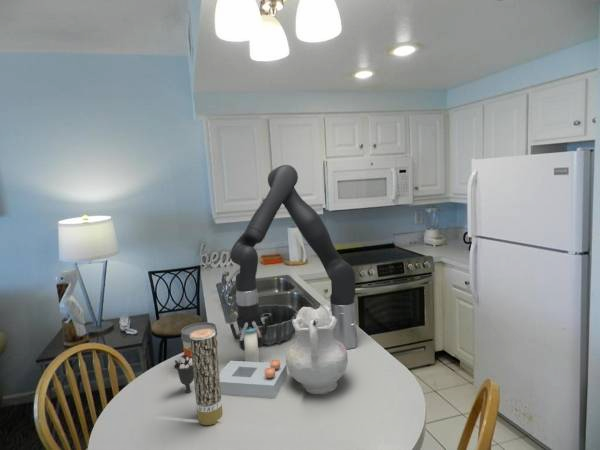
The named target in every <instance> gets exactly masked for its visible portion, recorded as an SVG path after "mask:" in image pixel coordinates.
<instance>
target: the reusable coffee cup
mask: <svg viewBox="0 0 600 450" xmlns="http://www.w3.org/2000/svg"><path fill="white" fill-rule="evenodd" d="M200 329H213V330H215V334H216V337H217V336H218V329H217V326H216V324H215V323H213V322H209V321H208V322H207V321H206V322H205V321H204V322H203V321H202V322H196V323H191V324H189V325H186V326H184V327H183V328H181V330H180V331H181V332H180V333H181V334H180V335H181V337H180V338H181V339H180V340H181V341H182V344H183V345H182V349H183V350H182V351H183V354H184V353H186V352H187V351H188V352H187V355H189V350H190V355H192V353H191V349H189V348H191V343H190V334H191V333H192V332H194V331H197V330H200ZM216 345H217V346H218V340H217V338H216ZM188 349H189V350H188Z"/></svg>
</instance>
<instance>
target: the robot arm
mask: <svg viewBox="0 0 600 450" xmlns="http://www.w3.org/2000/svg"><path fill="white" fill-rule="evenodd" d="M298 179H299V176H298V172H297V170H296V168H295V167H293V166H292V165H289V164H283V165H280V166H278V167H276V168H274V169H272V170H271V171H270V172H269V173H268V176H267V182H268V186H269V188H270V189H269V191H268V193H267V195H266V197H265V198H264V199H263V201H262V203H260V205H259V207H258V208H257V209H256V211H255V213H254V214H253V215H252V217H251V219H250V221H249V223H248V224H247V227H246V229H245V230H244V231H243V233H242V234H241V235H240V236H239V238H238V239H237V240H236V241H235V243H234V245H232V247H231V249H230V250H231V251H230V259H231V261H232V262H233V263H234V264H235V265H238V266H239V272H238V273H237V274H236V276H235V288H236V290H235V291H236V292H235V293H236V294H235V296H236V299H235V302H236V310H237V311H236V312H237V314H238V319H237V321H233V322H232V321H230V322H229V327H230V329H231V333H232V336H233V338H234V340H235V341H238V342H239V348H240V350H242V351H243V352H244V350H245V348H244V340H243V338H244V335H245V333H244V330H246V329H249V327H251V328H257V331H256V333H257V338H258V349H259V348H261V346H263V345H262V336H263V335H266V334H267V328H268V321H269V320H268V318H267V317H260V315H259V306H260V303H259V295H258V294H259V292H258V288H257V272H258V264H259V255H258V252H257V249H255V246H256V245H257V244H260V243H262V242H263V240H264V239H265V237H266V235H267V233H268V231H269V229H270V227H271V225H272V223H273V221H274V219H275V217H276V215H277V213H278V212H279V210H280V208H281V206H282V205H283V206H284V207H285V210H286V211H287V212H288V215H289V216H290V218H291V219H292V221H293V222H294V224H295V225H296V227H297V229H298V230H299V233H300V234H301V235H302V237H303V239H304V240H305V242H306V243H307V245H309V246H310V248H311V249H312V250H313V251H314V253H315V255H317V257H318V259H319V260H320V262H321V265H322V266H323V268H324V270H325V272H326V275H327V276H328V278H329V279H330V282H331V283H330V284H331V285H330V286H331V288H330V289H331V292H330V293H331V294H330V297H329V300H330V303H329V304H330V309H331V311H332V315H333V316H334V317H335V318H336V319H337V322H336V325H335V327H334V330H333V337H334V338H335V339H336V340H337V341H339V342H341V343H342V344H343V345H344V347H345V348H346V350H350V349H356V348H357V343H358V334H357V319H356V311H355V309H356V308H355V296H356V274H355V270H354V268H353V267H352V265H351V264H350V263H348V262H347V261H345V259H343V257H342V256H341V254H340V253H339V252H338V250H337V248H336V247H335V246H334V244H333V241H332V239H331V236H330V234H329V231H328V229H327V226H326V225H325V223H324V221H323V220H322V218H321V217H320V215H319V213H318V212H317V211H315V209H314V208H313V207H311V206H310V205H309V203H307V202H306V201H305V200H304V199H303V198H302V197H301V196H300V194H299V192H297V190H296V188H295V186H296V185H297V183H298ZM260 321H262V323H263V328H262V331H261V332H260V331H259V329H258V327H257V326H258V324H259V323H260ZM237 324H238V325H239V326H240V327H241V330H240V332H239V334H238V333H237V331H236V329H237V328H238V325H237ZM242 329H243V330H242Z"/></svg>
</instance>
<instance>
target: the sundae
mask: <svg viewBox="0 0 600 450" xmlns="http://www.w3.org/2000/svg"><path fill="white" fill-rule="evenodd" d="M189 349H191V348H189ZM189 349H188V350H189ZM187 352H188V351H187ZM187 352H186V353H184V352H183V355H182V356H180V357H179V358H178V361H177V360H174V362H175V364H174V367H173V368H174V369H175V370H176V371H177V373H178V378H179V382H180V383H181V384H182V385H183V386H185V392H184V394H191V392H192V390H191V386H190V384H192V383H193V382H194V374H193V364H192V355H190V350H189V355H187Z"/></svg>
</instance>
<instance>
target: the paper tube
mask: <svg viewBox="0 0 600 450" xmlns="http://www.w3.org/2000/svg"><path fill="white" fill-rule="evenodd" d="M216 339H217V336H216V334H215V330H213V329H200V330H197V331H194V332H192V333H191V334H190V343H191V353H192V364H193V374H194V380H193V383H194V393H195V402H196V404H195V405H196V413H197V414H196V415H197V421H198V423H199V424H201V425H203V426H211V425H214V424H215V425H216V424H217V423H218V422H219V420H220V419H221V418H222V417H223V403H222V394H221V390H220V379H219V373H220V371H219V370H220V369H219V358H218V344H217V345H216Z"/></svg>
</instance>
